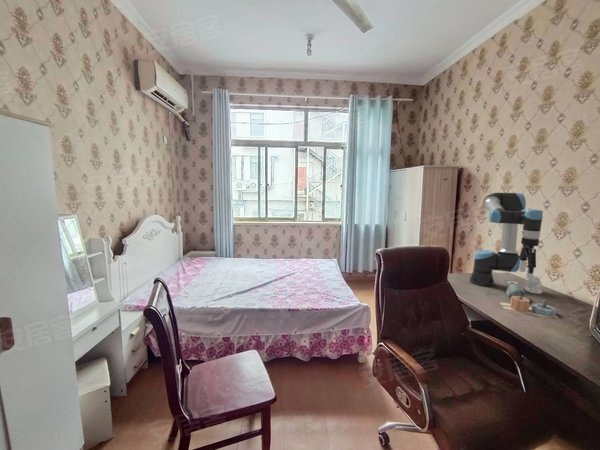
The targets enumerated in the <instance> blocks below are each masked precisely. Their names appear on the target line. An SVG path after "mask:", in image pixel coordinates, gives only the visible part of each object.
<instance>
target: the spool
mask: <svg viewBox="0 0 600 450" xmlns="http://www.w3.org/2000/svg"><path fill="white" fill-rule="evenodd" d="M506 295H507V297H508V298H510V299H511V297H512V296H521V297H525V296H526V290H525V288H523V287H522V286H520V285H517V284H510V285H509V286H508V287H507V289H506ZM525 298H526V297H525Z"/></svg>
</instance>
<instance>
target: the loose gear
mask: <svg viewBox="0 0 600 450" xmlns="http://www.w3.org/2000/svg"><path fill="white" fill-rule="evenodd" d="M518 298H519V296H512V297H511V298H510V302H509V303H510V307H511V308H512V309H514V310H517V311H521V312H528V309H529V306H530V302H531V301H530V299H528V298H527V297H523V298H522V300H520V299H518Z"/></svg>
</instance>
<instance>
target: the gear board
mask: <svg viewBox="0 0 600 450" xmlns="http://www.w3.org/2000/svg"><path fill="white" fill-rule="evenodd" d="M522 298H523V297H521V296H519V298H518V299H520V300H522ZM499 303H500V305H501V306H502V308H503V310H504V311H505V312H508V313H509V312H510V313H516V314H523V315H528V316H533V317H534V316H535V317H541V318H547V319H548V318H549V319H555V320H560V317H558V316H557V315H555V316H544V315H541V314H537V313H535V312H534V311H532V310H531V307H532V305H529V309H528V312H521V311H517V310H514V309H512V308H511V307H510V303H511V302H503V301H499ZM547 303H548V300H547V299H542V303H541V304H542V307H544V308H546V305H548V304H547Z"/></svg>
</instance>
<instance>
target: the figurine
mask: <svg viewBox="0 0 600 450" xmlns="http://www.w3.org/2000/svg"><path fill="white" fill-rule="evenodd" d="M538 276H539V275H538V274H537V275H533V279H527V280H525V282H526V284H525V285H526V287H525V288H524V291H525V292H528V293H531V294H539V295H541V294H542V293H543V291H542V290H541V288H542V287H543V284H542V281H541V278H539V277H538Z"/></svg>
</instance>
